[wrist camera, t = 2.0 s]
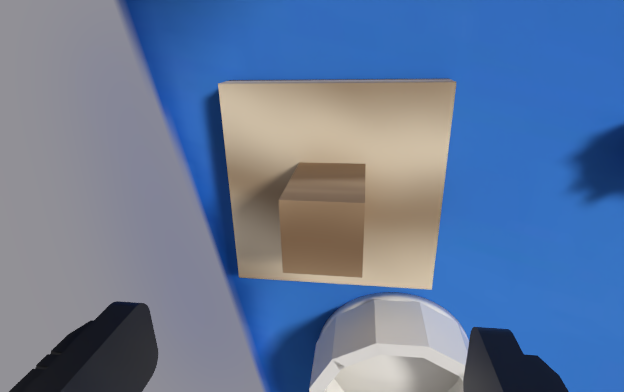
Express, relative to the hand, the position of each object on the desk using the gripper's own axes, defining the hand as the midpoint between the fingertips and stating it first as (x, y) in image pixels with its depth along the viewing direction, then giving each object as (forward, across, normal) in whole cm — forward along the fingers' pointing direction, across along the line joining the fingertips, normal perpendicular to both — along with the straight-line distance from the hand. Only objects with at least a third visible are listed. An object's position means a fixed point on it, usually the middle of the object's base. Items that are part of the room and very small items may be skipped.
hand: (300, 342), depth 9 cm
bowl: (+11, -4, +10) cm, 16 cm away
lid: (+10, 0, 0) cm, 10 cm away
